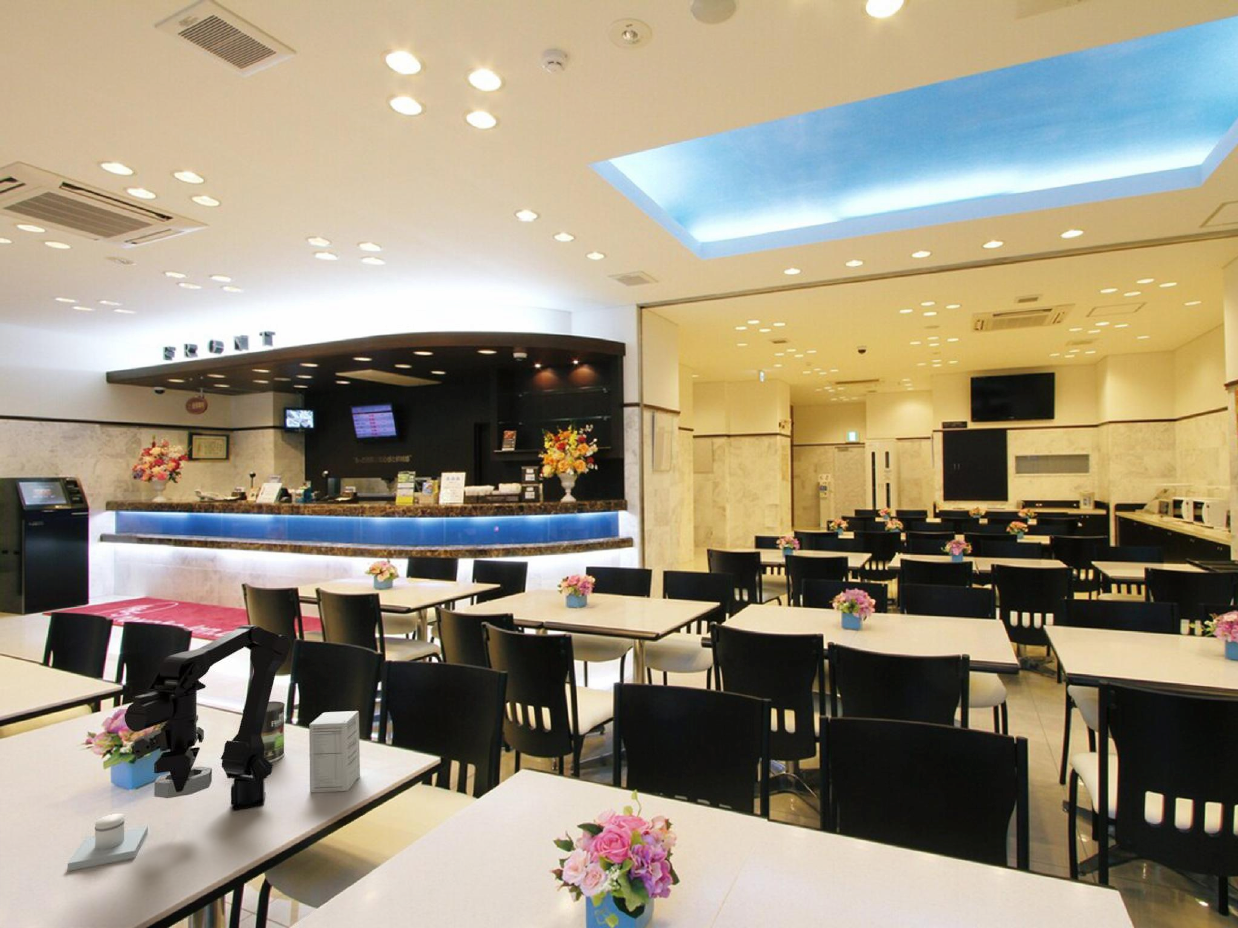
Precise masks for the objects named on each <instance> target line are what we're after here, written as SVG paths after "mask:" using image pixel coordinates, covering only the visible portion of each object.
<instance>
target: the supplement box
mask: <svg viewBox="0 0 1238 928" xmlns="http://www.w3.org/2000/svg"><path fill="white" fill-rule="evenodd" d="M308 727H309V728H308V729H309V731H308V732H309V793H326V792H327V793H328V792H330V793H331V792H334V793H335V792H348V791H349V790H350V789H351V787H352V786H353V784H354V783H355V782H356V781H357V780H358V779H359V778H360V776H361V765H360V764H361V761H360V757H361V756H360V755H361V753H360V750H361V749H360V712H359V711H358V710H354V711H353V710H349V711H329V712H328V711H326V712H322V713H321V714H320V715H319V716H318V717H316V718H315V719H314V720H313V721H312V722H310V723H309V726H308Z"/></svg>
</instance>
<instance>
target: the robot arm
mask: <svg viewBox="0 0 1238 928" xmlns="http://www.w3.org/2000/svg"><path fill="white" fill-rule="evenodd" d="M243 648H244V649H247V650H249V651H250V657H249V658H250V659H249V660H250V663H251V666H252V669H253V672H252V676H251V681H250V685H249V687H248V693H247V697H246V701H245V703H244V707H243V709H244V712H243V711H242V717H241V719H240V724H239V728H238V732H237V734H236V735H235V736H234V737H233V738H232V739H231V740H226V741H225V744H224V745H223V746H224V747H223V752H222V754H221V756H220V760H221V768H222V769H223V771H224V772H225V775H226V778H227V779H233V783H232V784H231V786H230V805H231V806H232V811H237V810H241V809H243V810H244V809H248V808H253V807H254V808H255V807H260V806H264V804H265V799H266V791H265V789H266V788H265V786H266V785H265V783H266V782H265V780H266V779H267V778H268V776H269V775H271V774H272V771H273V767H274V764H273V762H271V763H270V762H269V761H268V760H266V759H265V758H264V749H265V746H264V743H263V740H262V736H261V732H262V728H263V724H264V720H265V715H266V711H267V707H268V703H269V702H270V699H271V695H272V694H271V693H272V690H273V686H274V683H275V678H276V674H277V672H278V671H279V669H280V668H282V666H283V665H284V664H285V663H286V661H287V657H288V656H289V652H290V649H291V641H290V640H289V638H288V637H287V636H286V635H283V634H277V633H274V632H271V631H270V630H266V629H264V628H262V627H261V626H259V625H251V624H242V625H240V626H238V627H237V628H236V629H234V630H232V631H230V632H228V633H226V634H224V635H222V636H220V637H218V638H217V639H214V640H213V641H211V642H209V643H206V644H205V645H203V646H200V648H196V649H192V650H191V649H190V650H186V651H181V652H179V653H178V652H177V653H175V654H171V655H168V656H167V657H165V658H164V659H163V660H162V662H161V665H160V668H159V669H158V671H157V672H156V674H155V676H154V678H153V680H152V681H151V683H150V684H149V686H148V687H147V689H146V693H145V694H142V695H141V694H140V695H136V696H133V697H132V703H130V704H129V706H127V708H126V711H125V713H124V723H125V725H126V727H127V728H128V730H130V731H131V732H133V733H138V732H141V731H144V730H147V729H150V728H153V727H155V726H158V725H160V724H163V725H161V727H160V728H158V729H156V730H155V729H154V730H153V731H151V732H148V733H147V734H144V735H142V736H140V737H138V738H136V739H134V741H133V742H132V744H131V745H130V748H131V752H130V754H131V755H133V756H135V759H136V760H139V759H142V758H144V757H145V756H146V755H149V754H150V753H151V754H152V753H153V752H154V751H157V750H160V755H159V756H158V757H157V758H156V759H155V761H154V764H153V773H154V774H162V773H167V772H168V773H169V772H170V774H171V777H172V780H173V783H174V787H175V790H176V792H182V791H183V788H184V786H185V783H186V781H187V778H188V776H189V774H190V771H191V769H192V767H194V765H195V762H196V759H197V756H198V754H199V751H200V749H201V747H199V746H197V747H195V746H196V744H197V742H198V743H200V744H201V743H203V742H204V740H205V731H204V729H202V727H200V726H197V723H198V721H199V714H197V713H198V712H197V704H198V703H197V701H198V700H197V698H198V697H197V694H198V691H200V690H204V689H205V688H206V687H207V685H206V684H205V683H204V682H203V683H202V682H201V681H200V679H201V678H203V677H204V676H205V675H207V673H208V672H209V670H210V668H211V667H213V665H215V664H217V663H218V662H221V661H222V660H224V659H226V658H228V657H229V656H231V655H233V654H235V653H236V652H238V651H240V650H242V649H243ZM168 750H169V751H168Z"/></svg>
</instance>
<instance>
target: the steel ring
mask: <svg viewBox="0 0 1238 928" xmlns="http://www.w3.org/2000/svg"><path fill="white" fill-rule="evenodd" d="M212 777H213V768H212V767H210V766H207V767H206V766H193V767H192V769H191V771H190V774H189V776H188V778H187V781H186V783H185V786H184V788H183V791H182V792H176V790H175V787H174V783H173V780H172V777H171V774H170V772H168V773H167V772H166V773H164V774H161V775H158V777H157V778H156V779H155V780H154V791H153V793H154V794H153V796H154V798H161V799H162V798H163V799H172V798H178V797H183V796H184V797H185V796H189V795H194V794H196V793H198V792H201V791H204V790H207V789H209V788H210V786H211V784H212V782H213V779H212Z"/></svg>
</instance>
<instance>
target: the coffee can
mask: <svg viewBox="0 0 1238 928" xmlns="http://www.w3.org/2000/svg"><path fill="white" fill-rule="evenodd" d="M285 706H286V705H285V703H284V702H282V701H274V700H273V701H269V703H268V707H267V711H266V715H265V720H264V724H263V728H262V732H261V736H262V740H263V743H264V746H265V749H264V758H265V759H266V760H268V761H269V762H270V763H273V762H274V763H275V762H276V761H278V760H280V759H282V758H283V757H284V756H285ZM243 712H244V708H243V710H242V713H243Z"/></svg>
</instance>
